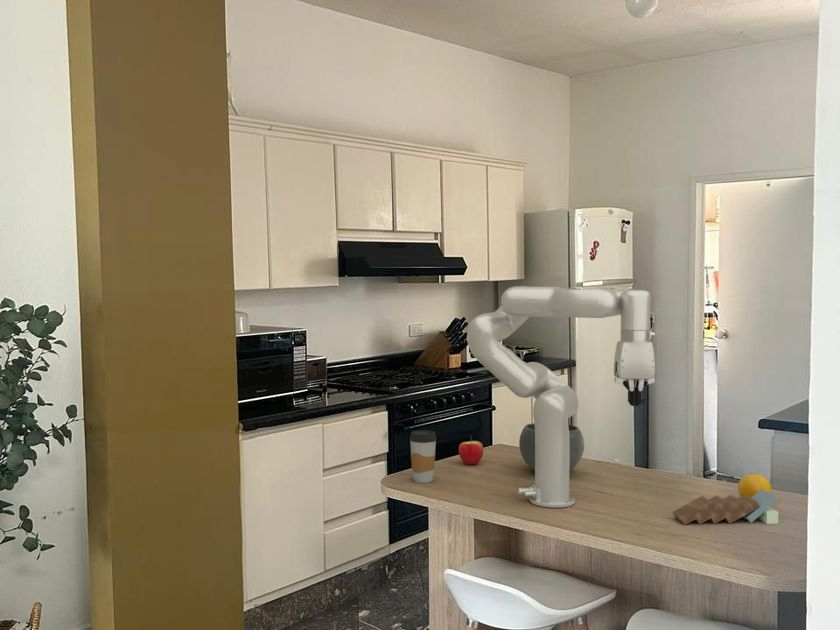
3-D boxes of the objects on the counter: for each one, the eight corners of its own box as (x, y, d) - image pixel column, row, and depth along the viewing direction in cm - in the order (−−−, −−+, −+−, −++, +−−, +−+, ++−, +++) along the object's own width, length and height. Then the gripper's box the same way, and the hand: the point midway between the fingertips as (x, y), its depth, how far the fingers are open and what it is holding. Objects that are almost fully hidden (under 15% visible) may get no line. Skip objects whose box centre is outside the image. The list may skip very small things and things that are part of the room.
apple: (457, 466, 265) (457, 436, 265) (460, 460, 274) (460, 431, 273) (482, 467, 264) (482, 437, 263) (484, 461, 272) (484, 432, 272)
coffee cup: (441, 479, 249) (441, 431, 248) (427, 485, 242) (427, 436, 241) (418, 475, 253) (418, 428, 252) (404, 481, 246) (404, 433, 245)
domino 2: (696, 518, 204) (727, 501, 205) (687, 511, 210) (716, 495, 211) (699, 524, 204) (730, 507, 205) (689, 517, 210) (719, 501, 211)
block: (766, 523, 205) (767, 512, 205) (751, 514, 213) (751, 503, 213) (778, 523, 205) (778, 512, 205) (762, 514, 213) (762, 503, 213)
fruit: (731, 500, 226) (731, 472, 225) (752, 497, 229) (753, 469, 228) (755, 509, 218) (756, 480, 217) (777, 505, 221) (778, 477, 220)
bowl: (589, 481, 247) (590, 433, 246) (523, 480, 247) (523, 432, 246) (577, 465, 267) (578, 420, 266) (516, 465, 267) (516, 420, 266)
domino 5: (747, 517, 205) (773, 495, 206) (735, 510, 211) (761, 488, 212) (751, 522, 205) (777, 500, 206) (739, 515, 211) (765, 494, 212)
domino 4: (726, 517, 205) (756, 501, 205) (715, 510, 211) (745, 494, 211) (729, 523, 205) (759, 507, 205) (718, 516, 211) (748, 500, 211)
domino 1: (681, 519, 204) (712, 502, 204) (672, 511, 210) (702, 495, 210) (684, 525, 204) (715, 508, 204) (675, 517, 210) (705, 501, 210)
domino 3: (711, 518, 204) (741, 501, 205) (701, 511, 210) (731, 494, 211) (714, 524, 205) (744, 507, 205) (704, 516, 211) (733, 500, 211)
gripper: (657, 335, 216) (656, 402, 217) (603, 335, 215) (602, 403, 216) (668, 337, 208) (667, 407, 209) (612, 338, 207) (611, 408, 208)
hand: (634, 405), depth 212 cm, fingers closed
